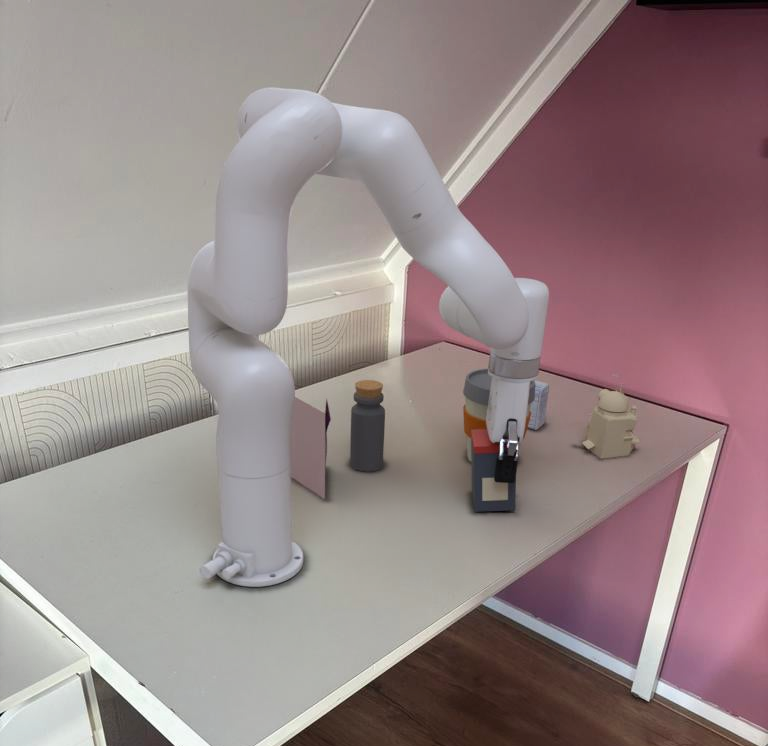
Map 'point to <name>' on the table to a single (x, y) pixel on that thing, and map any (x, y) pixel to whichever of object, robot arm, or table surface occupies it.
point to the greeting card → (309, 446)
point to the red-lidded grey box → (488, 476)
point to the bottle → (367, 427)
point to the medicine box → (539, 405)
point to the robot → (611, 426)
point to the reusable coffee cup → (483, 403)
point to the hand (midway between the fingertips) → (501, 468)
